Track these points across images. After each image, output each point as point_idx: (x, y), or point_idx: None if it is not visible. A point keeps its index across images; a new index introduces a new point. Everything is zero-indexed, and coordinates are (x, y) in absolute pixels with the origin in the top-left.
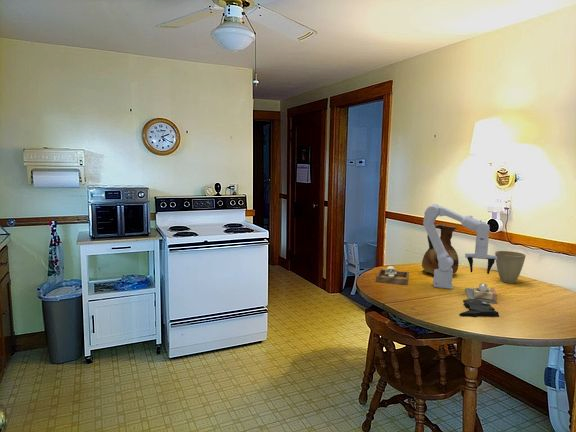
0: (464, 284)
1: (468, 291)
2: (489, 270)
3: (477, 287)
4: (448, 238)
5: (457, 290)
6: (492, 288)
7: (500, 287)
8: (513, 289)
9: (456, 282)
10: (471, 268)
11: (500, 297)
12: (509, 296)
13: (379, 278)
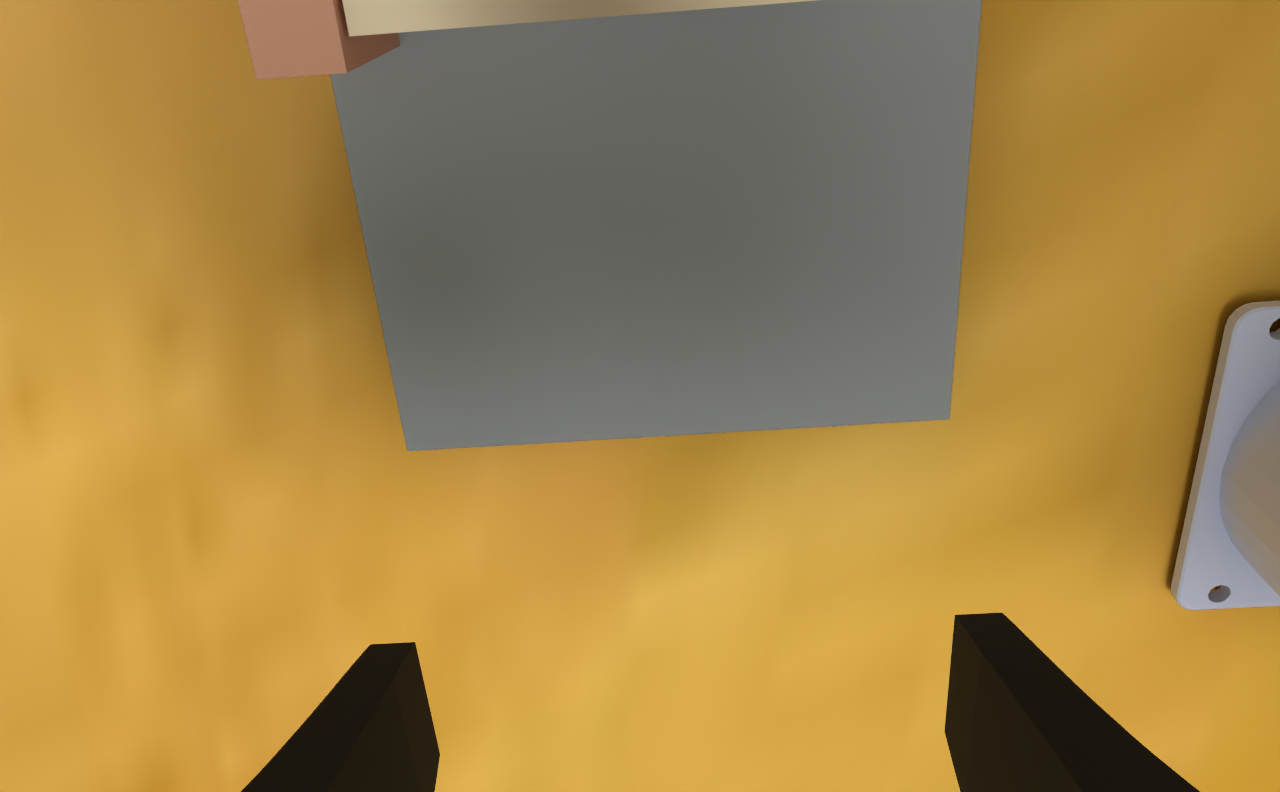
0: (899, 723)
1: (921, 130)
2: (306, 730)
3: (742, 1)
4: None
5: (1131, 259)
6: (301, 59)
7: None
8: (60, 763)
9: None
10: (1065, 709)
11: (193, 126)
12: (35, 299)
13: None
